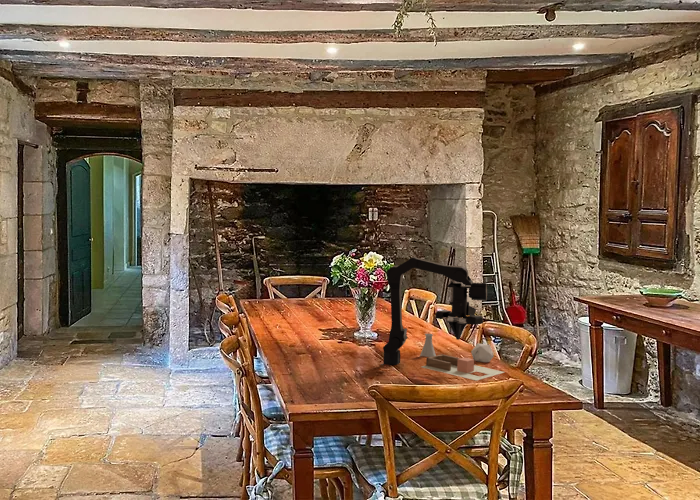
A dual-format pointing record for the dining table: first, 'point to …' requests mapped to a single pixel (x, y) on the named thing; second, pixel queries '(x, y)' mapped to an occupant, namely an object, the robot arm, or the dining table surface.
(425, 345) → the flask
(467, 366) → the block
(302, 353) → the dining table surface
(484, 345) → the die
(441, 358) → the cubby
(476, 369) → the board
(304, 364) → the dining table surface
